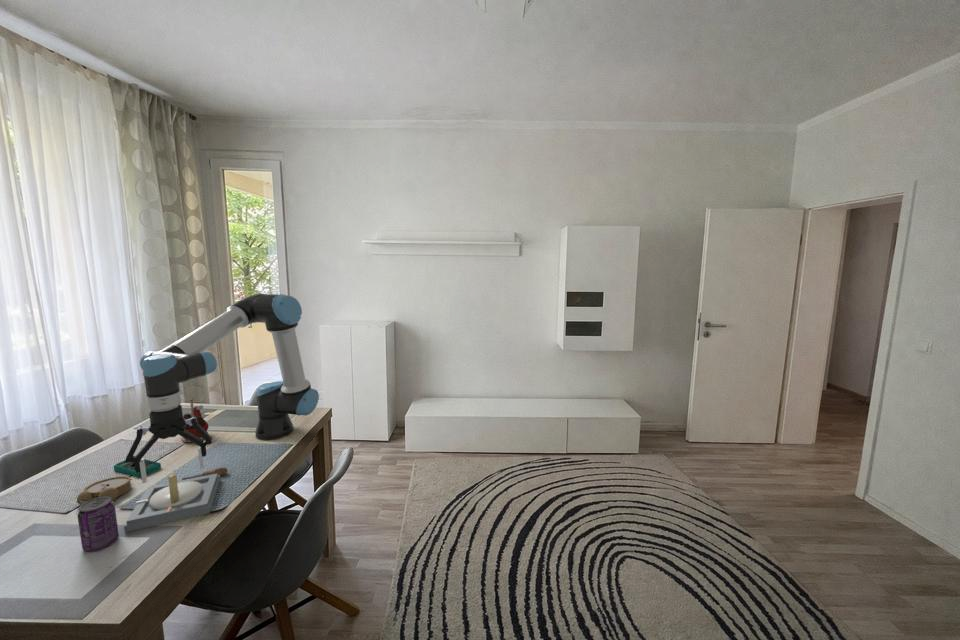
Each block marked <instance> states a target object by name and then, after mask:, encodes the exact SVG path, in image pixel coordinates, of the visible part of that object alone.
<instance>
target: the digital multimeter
mask: <svg viewBox="0 0 960 640" xmlns="http://www.w3.org/2000/svg"><path fill="white" fill-rule="evenodd" d="M144 462H145V469H146V476H147V475H150V474H152V473H154V472H156V471H158V470H160V469H161V468H162V463H161V462H157V461H154V460H149V459H145V458H144ZM113 470H114V471H115V472H118V473H123V474H126V475H131V476H134V477H135V478H142V477H141V472H138V473H136V471H135V464H134V463H133V462H129V463H126V462H125V460H122V461H120V462H117V463H116V464H114V465H113Z"/></svg>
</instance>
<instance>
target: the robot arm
mask: <svg viewBox="0 0 960 640" xmlns="http://www.w3.org/2000/svg"><path fill="white" fill-rule="evenodd" d="M302 311H303V309H302V305H301V304H300V302H299V300H298V299H297V298H295V297H294V296H292V295H290V294H289V295H288V294H287V295H286V294H278V293H277V294H272V293H270V294H269V293H268V294H264V293H257V294H253V295H250V296H247V297H244V298H242V299H240V300H239V301H236V302H235V303H233V304H231V305H230V306H228V307H227V308H226V310H225V311H224V312H223V313H221V314H220V315H218V316H216V317H215V318H213V319H211V320H210V321H208V322H206V323H205V324H203V325H201V326H199V327H197V328H196V329H195V330H192V331H191V332H190V333H188V334H186V335H185V336H183V337H181V338H180V339H178V340H176V341H175V342H173V343H171V344H170V345H168V346H166V347H164V348H163V349H161V350H152V351H147V352H146V353H144V354H143V355H142V356H141V357H140V361H139V366H140V369H141V370H142V376H143V380H144V387H145V392H146V401H147V408H148V416H149V423H150V426H144V427H143V426H141V425H140V426H138V427H137V430H136V436H135V438H134V441H133V443H132V445H131V447H130V449H129V451H128V453H127V454H126V458H125V460H124V461H125V462H126V463H129V462H133V463H134V464H135V471H136V473H138V472H141V477H140V478H141V482H142V484H146V483H147V481H148V480H147V479H148V478H147V475H146V469H145V462H144V459H145V458H144V456H145V455H146V454H147V453H148V451H149V450H150V449H151V448H152V447H153V445H154V444H155V443H156V442H157V441H158V440H159V439H160V440H161V439H162V440H165V439H168V438H174V437H176V436H178V435H179V436H180V437H181V438H182V437H185V438H186V439H188V440H190V441H191V442H190V443H193V444H195V445H197V452H198V461H199V468H200V469H204V460H203V458H204V457H206V456H207V449H206V448H207V446H208V445H211V444H212V442H213V439H212V437H211V436H210V435H208V434H209V433H208V434H207V432H208V431H207V432H206V431H205V430H204V429H203V428H202V427H201V426H200V425H199V423H198V422H197V419H196V417H195V416H193V417H192V418H190V419H186V420H185V419H184V418H183V416H184V414H183V407H182V406H183V405H181V403H182V398H181V390H180V384H181V383H184V382H187V381H192V380H195V379H197V378H201V377H205V376H207V375H209V374H211V373H214V372H215V370H216V369H217V367H218V364H217V363H218V362H217V358H216V356H215V355H214V354H213V353H212V352H209V351H206V350H208V349H209V348H210V347H212V346H213V345H215V344H216V343H218V342H219V341H221V340H223V339H225V338H226V337H227V336H229V335H230V334H232V333H233V332H235V331H236V330H238V329H239V328H243V329H244V328H246V327H247V326H249V325H251V324H254V323H263V324H265V328H266V331H267V332H269V333H271V335H272V340H273V344H274V348H275V352H276V356H277V362H278V365H279V369H280V374H281V378H282V380H278V381H272V382H268V383H265V384H261V385H260V386H258V387H257V389H256V390H257V391H256V399H257V400H256V402H257V403H256V404H257V413H258V421H257V425H256V428H255V431H254V434H255V438H256V439H257V440H261V441H272V440H277V439H282V438H285V437H288V436H289V435H291V434H292V433H293V432H292V431H294V424H293V422H292V420H291V419H292V418H290V415H294V416H309V415H310V414H312V413H313V412H314V411H315V409H316V408H317V405H318V403H319V399H320V397H319V396H320V395H319V392H318V390H317V389H315V388H312V387H311V382H310V381H309V379H306V376H305V370H304V366H303V362H302V357H301V352H300V348H299V342H298V337H297V333H296V328H297V327H298V325H299V322H300V321H301V319H302V316H301V315H302V314H303V312H302ZM185 424H189V425H190V426H193V428H194V429H195V430H196V431H197V432H198V433H199V434H200V435H201V437H202V438H203V439H200V438H198V437H197V436H195V435H194V434H192V433H190V432H189V431H187V430H186V429H185V428H183V427H184V426H185ZM148 432H149V433H151V434H152V436H151V437H150V439H149V440H148V441H147V442H146V443H145V444H144V445H143V447H142V448H140V450H139V451H138V453H137V454H136V455H135V453H136V451H137V449H138V446H139V445H140V442H141V440H142V438H143V436H146V434H147V433H148ZM291 432H292V433H291ZM288 434H289V435H288ZM284 436H285V437H284Z"/></svg>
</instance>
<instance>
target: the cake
mask: <svg viewBox="0 0 960 640" xmlns="http://www.w3.org/2000/svg"><path fill="white" fill-rule="evenodd" d="M193 400H194V399H193V398H190V399H189V402H190V403H189V404H190V405H189V406H190V412H191V413H184V414H183V418H184V419H185V420H186V419H190V418H192V417H193V416H195V417H196V419H197V422H198V423H199V425H200V426H201V427H202V428H203V429H204V430H205V431H206V432H207V434H208V435H209V431H208V429H209V423H208V422H207V421H206V419H204V416H203V415H202V413H201V410H203V408H204V406H203V405H202V404H199V405H196V406H194V401H193ZM183 428H185V429H186V430H187V431H189V432H190V433H192V434H194V435H195V436H197V437H198V438H200V439H202V440H204V439H203V438H202V437H201V435H200V434H199V433H198V432H197V431H196V430H195V429H194V428H193V426H190V425H189V424H185V426H184V427H183ZM209 436H210V435H209ZM180 439H181V442H182V443H192V442H191V441H190V440H188V439H186V438H185V437H182V436H181V438H180Z"/></svg>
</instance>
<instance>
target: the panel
mask: <svg viewBox="0 0 960 640" xmlns="http://www.w3.org/2000/svg"><path fill="white" fill-rule="evenodd" d="M188 481H194V482H199V483H200V484H201V485H202V493H201V494H200V495H199V496H198V497H197V498H196V499H194V500H193V501H191V502H189V503H187V504H185V505H183V506H179V507H174V508H172V506H171V507H168V509H165V510H155V509H152V508H151V507H150V498H151V497H152V496H153V495H154V494H155V493H156V492H158V491H159V490H161V489H163V488H165V487H168V486H169V482H166V483H160V484H156V485H149V486H148V487H146V490H145V491H144V493H143V494H142V496H141V497H140V499H139V500H136V502H135V504H136V505H135V507H134V509H133V510H132V512H130V515H129V517H128V518H127V520H126V522H125V524H124V525H123V531H124V533H129V532H133V531H137V530H142V529H146V528H150V527H151V528H152V527H154V526H155V527H156V526H158V525H163V524H164V525H165V524H168V523H173V522H176V521H177V522H178V521H181V520H185V519H190V518H194V517H199V516H203V515H207V514H210V513H211V510H212V507H213V505H214V500H215V498H216V494H217V492H216V491H218V489H217V488H219V486H220V485H219V484H220V482H221V476H220V475H218V473H217V474H212V475H207V476H201V477H196V478H191V479H186V480H182V479H181V480H177V483H181V482H188Z"/></svg>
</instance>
